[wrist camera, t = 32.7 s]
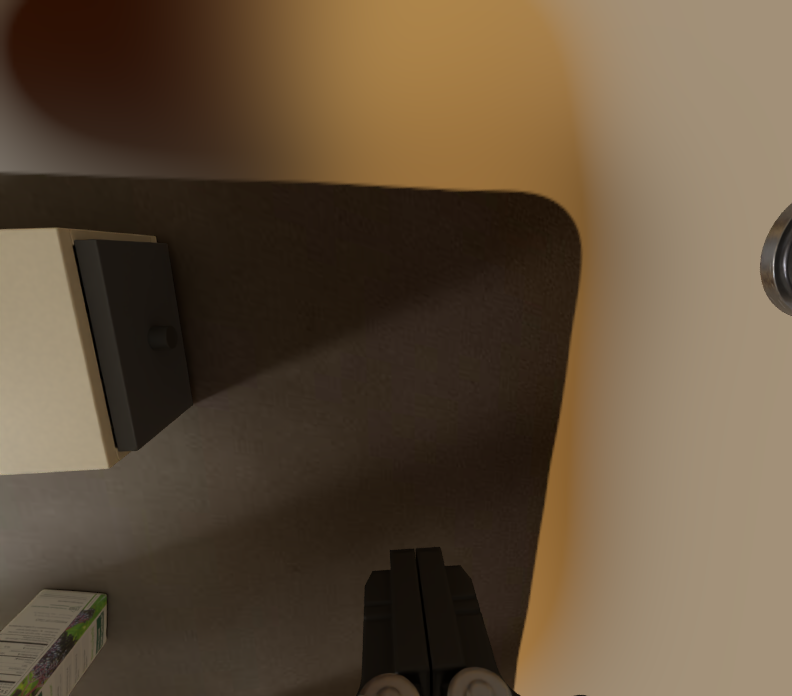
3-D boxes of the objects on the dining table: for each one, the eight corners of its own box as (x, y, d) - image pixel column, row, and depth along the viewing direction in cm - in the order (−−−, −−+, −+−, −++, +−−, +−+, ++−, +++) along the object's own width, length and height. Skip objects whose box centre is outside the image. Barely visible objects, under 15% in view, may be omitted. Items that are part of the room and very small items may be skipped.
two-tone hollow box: (184, 242, 30) (118, 238, 22) (208, 404, 32) (157, 450, 25) (-99, 252, 29) (-272, 251, 21) (-49, 417, 32) (-185, 470, 24)
